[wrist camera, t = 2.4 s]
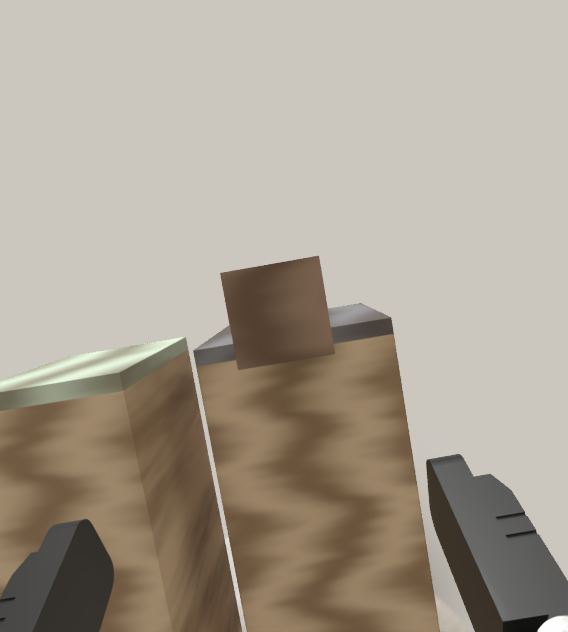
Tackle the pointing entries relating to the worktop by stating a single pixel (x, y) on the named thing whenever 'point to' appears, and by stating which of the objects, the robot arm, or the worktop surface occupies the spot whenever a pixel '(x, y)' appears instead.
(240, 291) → the walnut bar
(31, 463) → the tower
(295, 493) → the tower
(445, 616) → the worktop surface
